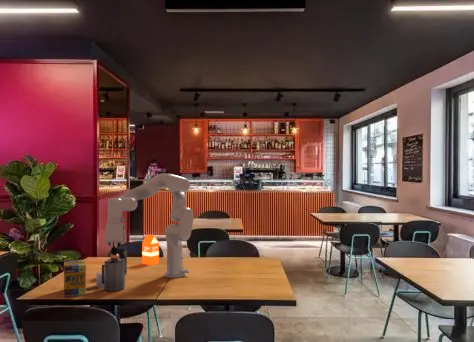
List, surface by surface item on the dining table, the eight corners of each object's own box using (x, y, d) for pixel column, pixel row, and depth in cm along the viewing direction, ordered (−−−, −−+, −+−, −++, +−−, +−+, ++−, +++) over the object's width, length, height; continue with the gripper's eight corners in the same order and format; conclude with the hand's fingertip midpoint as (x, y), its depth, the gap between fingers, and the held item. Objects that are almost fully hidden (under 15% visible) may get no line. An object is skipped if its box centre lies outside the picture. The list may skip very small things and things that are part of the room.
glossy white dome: (111, 284, 224) (111, 271, 225) (106, 287, 217) (106, 274, 218) (99, 284, 225) (99, 271, 225) (94, 287, 218) (94, 274, 218)
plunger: (123, 277, 218) (123, 253, 218) (118, 280, 211) (119, 256, 211) (110, 277, 219) (110, 253, 219) (105, 280, 211) (105, 255, 212)
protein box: (63, 297, 200) (63, 266, 200) (63, 289, 214) (63, 260, 214) (85, 295, 204) (86, 265, 204) (84, 287, 218) (84, 259, 218)
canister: (122, 276, 240) (122, 247, 241) (107, 276, 242) (108, 246, 243) (129, 273, 250) (129, 244, 250) (115, 272, 252) (115, 244, 252)
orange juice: (150, 261, 283) (150, 233, 283) (159, 263, 278) (159, 234, 278) (141, 263, 277) (142, 235, 277) (150, 265, 272) (150, 236, 272)
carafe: (126, 286, 219) (127, 258, 220) (120, 291, 209) (120, 262, 210) (105, 286, 220) (105, 258, 220) (98, 291, 210) (98, 262, 210)
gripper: (130, 220, 218) (130, 253, 218) (104, 220, 219) (104, 253, 219) (126, 221, 211) (125, 256, 211) (98, 221, 212) (98, 255, 212)
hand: (114, 254), depth 215 cm, fingers closed
